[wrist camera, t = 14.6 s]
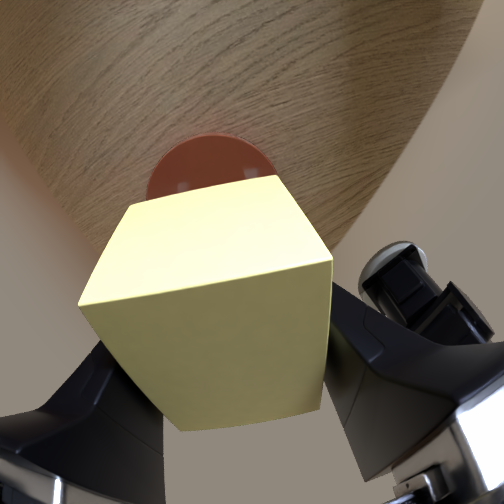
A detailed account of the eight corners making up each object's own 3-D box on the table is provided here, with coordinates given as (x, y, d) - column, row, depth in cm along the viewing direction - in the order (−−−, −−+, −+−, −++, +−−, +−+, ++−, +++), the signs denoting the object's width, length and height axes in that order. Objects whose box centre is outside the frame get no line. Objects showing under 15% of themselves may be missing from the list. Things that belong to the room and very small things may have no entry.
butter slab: (289, 315, 12) (319, 409, 8) (182, 334, 11) (180, 431, 8) (276, 173, 8) (334, 257, 4) (129, 205, 8) (76, 304, 4)
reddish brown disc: (301, 197, 18) (307, 205, 17) (212, 270, 20) (213, 281, 19) (217, 103, 14) (217, 104, 13) (124, 197, 16) (119, 205, 15)
